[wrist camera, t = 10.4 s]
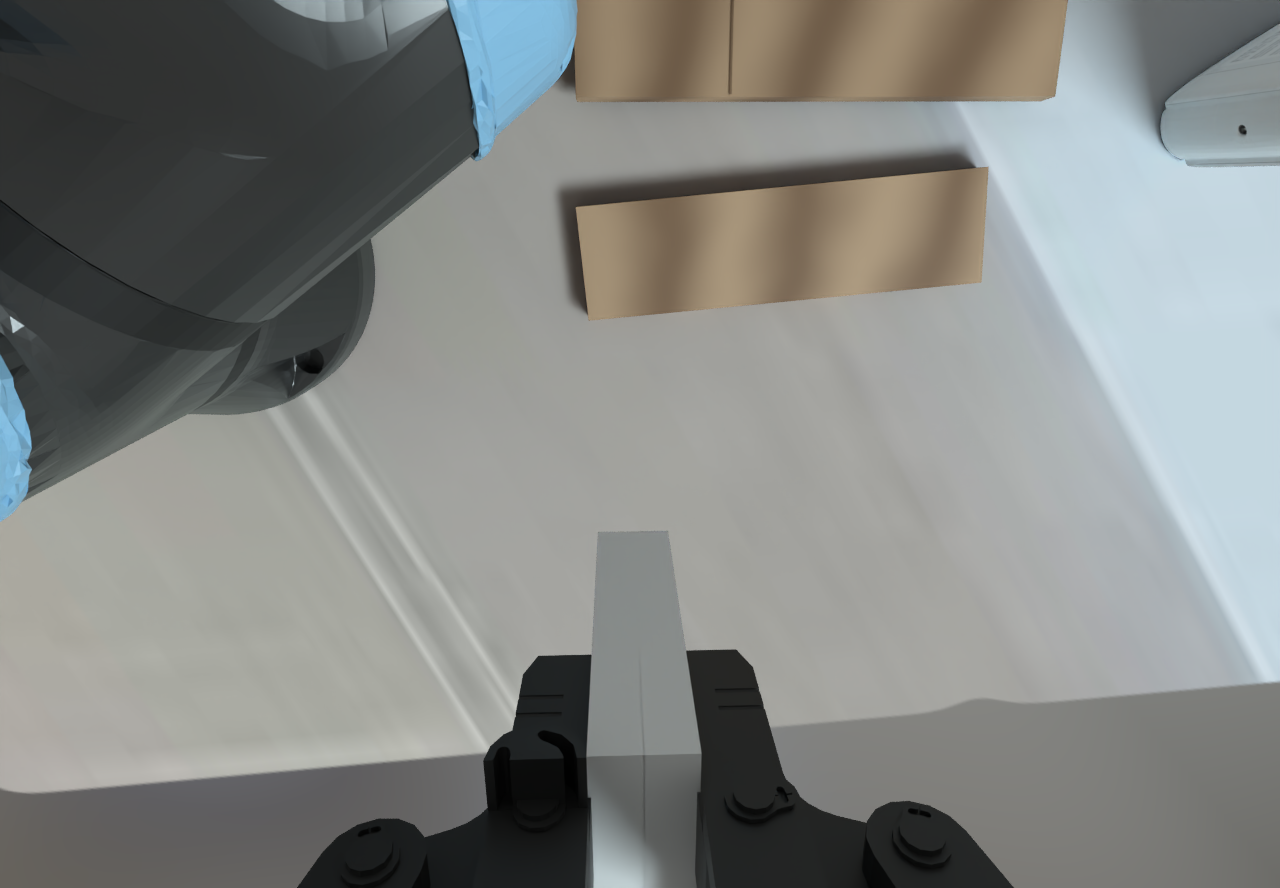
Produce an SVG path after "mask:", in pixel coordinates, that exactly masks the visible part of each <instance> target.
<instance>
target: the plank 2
mask: <svg viewBox="0 0 1280 888" xmlns="http://www.w3.org/2000/svg"><path fill="white" fill-rule="evenodd" d="M987 183H988V167H980V168H968V169H958V170H948V171H937V172H927V173H917V174H907V175H896V176H886V177H876V178H866V179H855V180H845V181H835V182H824V183H814V184H804V185H794V186H783V187H773V188H763V189H752V190H742V191H732V192H722V193H711V194H701V195H691V196H681V197H670V198H660V199H650V200H639V201H629V202H619V203H609V204H598V205H588V206H578V207H576V214H577V223H578V231H579V240H580V249H581V257H582V266H583V275H584V284H585V292H586V301H587V310H588V318H589V321H590V320H600V319H610V318H621V317H631V316H641V315H651V314H662V313H672V312H682V311H693V310H703V309H713V308H723V307H734V306H744V305H754V304H765V303H775V302H785V301H796V300H806V299H816V298H826V297H837V296H847V295H857V294H868V293H878V292H888V291H898V290H909V289H919V288H929V287H940V286H950V285H960V284H971V283H981V280H982V264H983V247H984V231H985V215H986V199H987Z"/></svg>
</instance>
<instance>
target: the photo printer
mask: <svg viewBox="0 0 1280 888" xmlns="http://www.w3.org/2000/svg"><path fill="white" fill-rule="evenodd" d="M1165 106H1166V109H1165V110H1164V112H1163V114H1162V117H1161V124H1160V129H1161V137H1162V140H1163V143H1164V145H1165V147H1166V148H1167V150H1168V151H1169V152H1170V153H1171V154H1172V155H1173V156H1175V157H1177V158H1179V159H1183V160H1185V161H1186V164H1187V165H1188V166H1192V167H1247V166H1248V167H1254V166H1280V24H1278V25H1276V26H1275V27H1273V28H1272V29H1270V30H1268V31H1267V32H1265V33H1264V34H1262V35H1260V36H1259V37H1257V38H1256V39H1254V40H1252V41H1251V42H1249V43H1248V44H1246V45H1245V46H1243V47H1241V48H1240V49H1238V50H1237V51H1235V52H1234V53H1232V54H1230V55H1229V56H1227V57H1226V58H1224V59H1223V60H1221V61H1219V62H1218V63H1217V64H1215V65H1213V66H1212V67H1210V68H1209V69H1207V70H1206V71H1204V72H1203V73H1201V74H1200V75H1198V76H1197V77H1195V78H1194V79H1193V80H1191V81H1190V82H1188V83H1187V84H1186V85H1184V86H1183V87H1182V88H1180V89H1179V90H1178V91H1177V92H1175V93H1174V94H1173V95H1172V96H1171V97H1170V98H1169V99H1168V100H1167V101H1166V102H1165Z"/></svg>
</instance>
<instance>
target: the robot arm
mask: <svg viewBox="0 0 1280 888" xmlns="http://www.w3.org/2000/svg"><path fill="white" fill-rule="evenodd" d="M577 12H578V10H577V0H0V522H1V521H2V520H4V519H5V518H7V517H8V516H10V515H11V514H12V513H13V512H14V511H15V510H16V508H17V507H18V506H19V504H20V503H21V502H23V501H25V500H27V499H28V498H30V497H32V496H34V495H36V494H38V493H40V492H42V491H43V490H45V489H47V488H49V487H51V486H53V485H55V484H57V483H58V482H60V481H62V480H64V479H66V478H68V477H70V476H72V475H73V474H75V473H77V472H79V471H81V470H83V469H85V468H87V467H88V466H90V465H92V464H94V463H96V462H98V461H100V460H102V459H104V458H105V457H107V456H109V455H111V454H113V453H115V452H117V451H119V450H120V449H122V448H124V447H126V446H128V445H130V444H132V443H134V442H135V441H137V440H139V439H141V438H143V437H145V436H147V435H149V434H151V433H153V432H154V431H156V430H158V429H160V428H162V427H164V426H166V425H168V424H170V423H172V422H173V421H175V420H177V419H179V418H181V417H183V416H185V415H187V414H216V415H232V414H244V413H251V412H256V411H261V410H265V409H268V408H272V407H275V406H278V405H281V404H283V403H286V402H288V401H290V400H292V399H295V398H296V397H298V396H300V395H302V394H303V393H305V392H307V391H308V390H310V389H311V388H313V387H314V386H316V385H317V384H319V383H320V382H322V381H323V380H325V379H326V378H327V377H329V376H330V375H331V374H332V373H333V372H335V371H336V370H337V369H338V368H339V367H340V366H341V365H342V363H343V362H344V361H345V360H346V359H347V358H348V356H349V355H350V354H351V352H352V351H353V350H354V348H355V346H356V345H357V343H358V341H359V339H360V337H361V335H362V333H363V331H364V329H365V326H366V324H367V321H368V318H369V315H370V311H371V307H372V302H373V296H374V285H375V266H374V256H373V249H372V244H371V238H372V237H373V236H374V235H376V234H377V233H378V232H379V231H380V230H382V229H383V228H384V227H385V226H387V225H388V224H389V223H390V222H391V221H393V220H394V219H395V218H396V217H397V216H399V215H400V214H401V213H402V212H404V211H405V210H406V209H407V208H408V207H410V206H411V205H412V204H413V203H415V202H416V201H417V200H418V199H419V198H421V197H422V196H423V195H424V194H425V193H427V192H428V191H429V190H430V189H432V188H433V187H434V186H435V185H436V184H438V183H439V182H440V181H441V180H443V179H444V178H445V177H446V176H447V175H449V174H450V173H451V172H452V171H454V170H455V169H456V168H457V167H458V166H460V165H461V164H462V163H463V162H464V161H466V160H467V159H468V158H469V157H471V158H472V159H473V160H475V161H478V160H481V159H482V158H484V157H485V156H486V155H487V154H488V153H489V151H490V150H491V148H492V146H493V143H494V140H495V137H496V136H497V135H498V134H499V133H500V132H501V131H502V130H503V129H504V128H506V127H507V126H508V125H509V124H510V123H511V122H512V121H513V120H514V119H516V118H517V117H518V116H519V115H520V114H521V113H522V112H523V111H524V110H526V109H527V108H528V107H529V106H530V105H531V104H532V103H533V102H535V101H536V100H537V99H538V98H539V97H540V96H541V95H542V94H543V93H545V92H546V91H547V90H548V89H549V88H550V87H551V86H552V85H553V84H554V83H555V82H556V81H557V80H558V79H559V78H560V76H561V75H562V73H563V72H564V70H565V69H566V67H567V65H568V63H569V61H570V59H571V55H572V51H573V46H574V42H575V38H576V27H577ZM483 762H484V773H485V784H486V795H487V805H488V808H487V809H486V810H485V811H484V812H483V813H482V814H481V815H479V816H478V817H476V818H474V819H473V820H472V821H470V822H468V823H466V824H464V825H461V826H459V827H456V828H454V829H451V830H448V831H444V832H441V833H438V834H435V835H431V836H428V837H425V838H424V836H423V835H422V834H421V832H420V831H419V830H418V829H417V828H416V827H415V825H413V824H410V823H408V822H405V821H403V820H400V819H376V820H373V821H369V822H366V823H362V824H359V825H356V826H355V827H353V828H351V829H350V830H348V831H347V832H345V833H343V834H341V835H340V836H338V837H337V838H336V839H335V840H334V841H333V842H332V843H331V844H330V845H329V846H328V847H327V848H326V849H325V851H323V853H322V854H321V855H320V857H319V858H318V859H317V861H316V862H315V864H314V865H313V866H312V868H311V869H310V871H309V872H308V873H307V875H306V876H305V878H304V879H303V880H302V882H301V883H300V884H299V886H298V887H297V888H1014V887H1013V886H1012V885H1011V884H1010V883H1009V881H1008V880H1007V879H1006V878H1005V877H1004V875H1003V874H1002V873H1001V872H1000V871H999V870H998V868H997V867H996V866H995V865H994V864H993V862H992V861H991V860H990V859H989V858H988V856H987V855H986V854H985V853H984V852H983V850H982V849H981V848H980V847H979V846H978V845H977V843H976V842H975V841H974V840H973V839H972V838H971V836H970V835H969V834H968V833H967V831H966V830H964V829H963V828H962V827H961V826H960V825H959V824H958V823H957V822H956V821H954V820H953V819H952V818H951V817H950V816H948V815H946V814H945V813H943V812H941V811H939V810H937V809H935V808H933V807H931V806H928V805H924V804H919V803H915V802H911V801H902V802H890V803H888V804H885V805H883V806H881V807H879V808H877V809H875V811H874V812H873V814H872V815H871V816H870V818H869V819H868V821H867V823H865V822H861V821H856V820H852V819H848V818H844V817H840V816H836V815H833V814H830V813H827V812H824V811H821V810H819V809H817V808H816V807H814V806H812V805H810V804H808V803H807V802H806V801H804V800H803V799H802V798H801V797H800V796H799V794H798V792H797V790H796V789H795V787H794V786H793V785H792V784H791V783H789V782H788V781H787V780H786V779H785V776H784V774H783V771H782V768H781V764H780V761H779V757H778V754H777V751H776V747H775V743H774V740H773V736H772V733H771V729H770V726H769V722H768V719H767V715H766V712H765V709H764V707H763V701H762V698H761V694H760V692H759V687H758V684H757V680H756V677H755V673H754V670H753V667H752V666H751V665H750V664H749V663H748V662H747V661H746V660H745V658H744V657H743V656H742V655H741V654H740V653H739V652H738V651H737V650H694V651H686V648H685V641H684V634H683V628H682V621H681V615H680V608H679V601H678V595H677V588H676V582H675V575H674V568H673V562H672V555H671V549H670V542H669V536H668V531H641V532H598V542H597V561H596V580H595V600H594V619H593V638H592V655H559V656H538V657H537V658H536V660H535V661H534V662H533V663H532V664H531V666H530V667H529V668H528V669H527V670H526V672H525V673H524V674H523V678H522V684H521V689H520V694H519V700H518V705H517V710H516V717H515V720H514V726H513V731H510V732H508V733H506V734H504V735H503V736H501V737H500V738H499V739H498V740H497V741H496V742H495V743H494V744H492V745H491V746H490V748H489V750H488V752H487V754H486V756H485V758H484V761H483Z"/></svg>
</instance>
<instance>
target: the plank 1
mask: <svg viewBox="0 0 1280 888" xmlns="http://www.w3.org/2000/svg"><path fill="white" fill-rule="evenodd" d="M1067 3H1068V0H577V10H578V12H577V27H576V38H575V42H574V48H575V85H576V99H577V102H795V101H1043V100H1046V99H1049V98H1052V97H1055V94H1056V86H1057V78H1058V71H1059V63H1060V56H1061V48H1062V41H1063V33H1064V25H1065V18H1066V10H1067Z"/></svg>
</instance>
